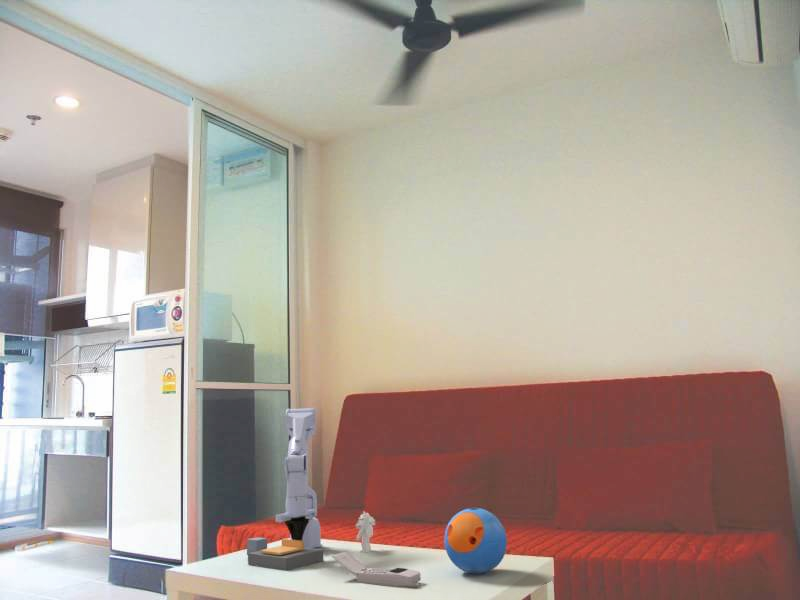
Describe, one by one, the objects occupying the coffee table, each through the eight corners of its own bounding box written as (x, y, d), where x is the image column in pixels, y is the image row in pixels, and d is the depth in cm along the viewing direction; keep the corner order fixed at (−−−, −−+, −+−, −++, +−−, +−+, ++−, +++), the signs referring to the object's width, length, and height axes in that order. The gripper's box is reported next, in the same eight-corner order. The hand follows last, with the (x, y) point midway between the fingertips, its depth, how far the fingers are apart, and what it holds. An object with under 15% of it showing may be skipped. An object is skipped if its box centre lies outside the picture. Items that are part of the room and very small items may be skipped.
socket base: (285, 555, 191) (285, 545, 192) (323, 560, 182) (323, 549, 182) (247, 564, 181) (248, 553, 181) (285, 570, 171) (285, 558, 172)
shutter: (284, 547, 187) (284, 538, 187) (304, 549, 182) (304, 540, 182) (259, 552, 180) (259, 543, 180) (279, 555, 175) (279, 545, 175)
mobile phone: (344, 551, 164) (428, 557, 151) (345, 575, 163) (430, 583, 150) (329, 555, 159) (415, 562, 146) (330, 581, 158) (416, 590, 145)
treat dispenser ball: (518, 569, 161) (513, 505, 164) (492, 582, 148) (488, 513, 151) (463, 564, 169) (460, 504, 172) (434, 577, 156) (431, 511, 159)
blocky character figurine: (363, 553, 189) (362, 511, 192) (352, 553, 191) (351, 511, 193) (378, 548, 197) (377, 507, 200) (367, 547, 199) (366, 507, 201)
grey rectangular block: (257, 555, 193) (257, 537, 194) (267, 557, 191) (267, 538, 192) (246, 558, 190) (246, 539, 191) (256, 559, 188) (256, 540, 189)
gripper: (287, 499, 180) (287, 550, 177) (324, 494, 191) (324, 542, 188) (270, 498, 184) (270, 548, 182) (307, 493, 195) (308, 540, 193)
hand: (297, 545), depth 185 cm, fingers closed
